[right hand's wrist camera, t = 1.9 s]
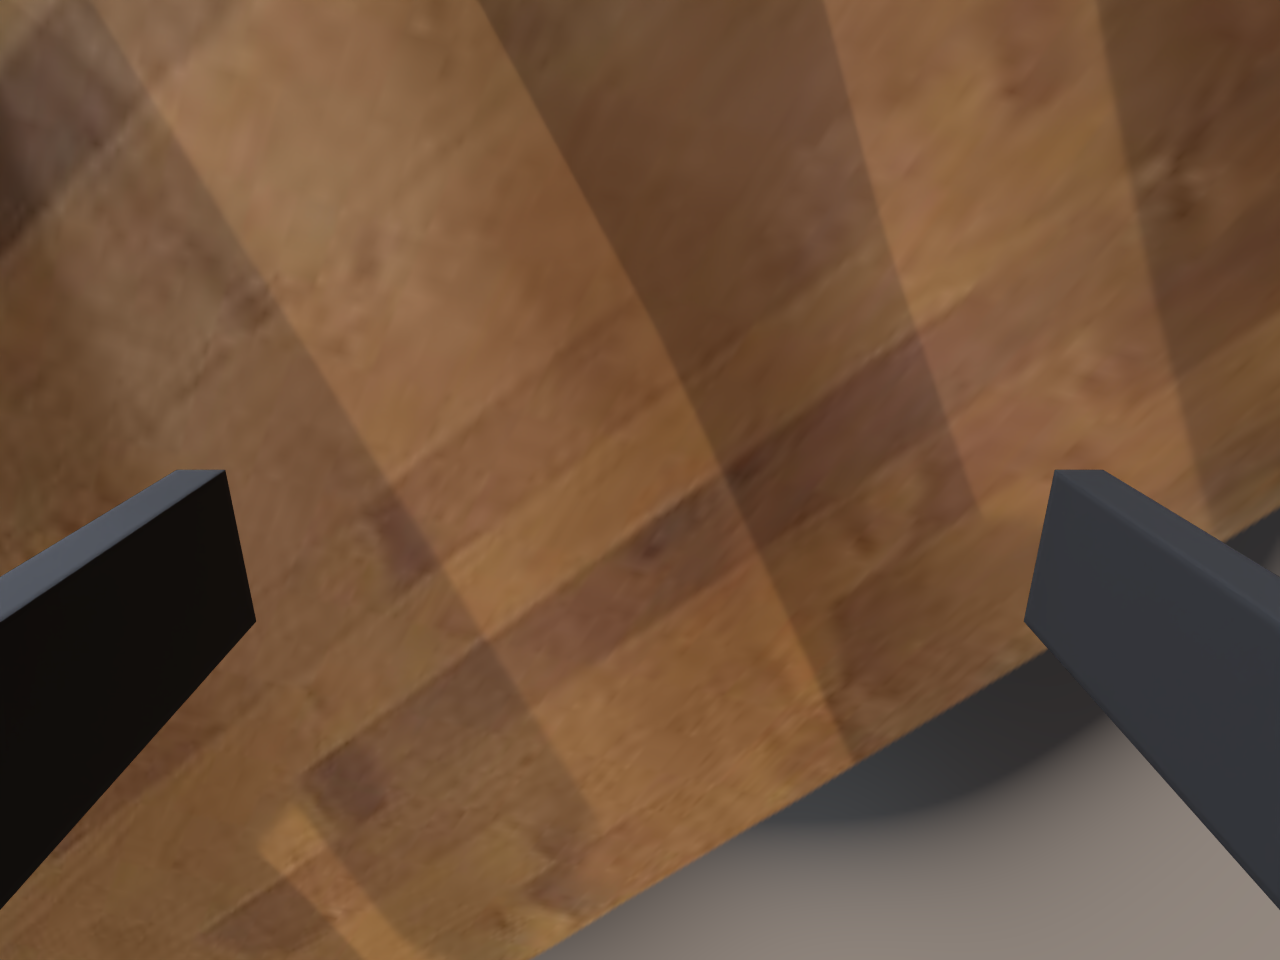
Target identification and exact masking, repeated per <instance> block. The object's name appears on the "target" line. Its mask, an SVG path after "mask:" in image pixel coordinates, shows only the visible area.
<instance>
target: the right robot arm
mask: <svg viewBox="0 0 1280 960" xmlns="http://www.w3.org/2000/svg"><path fill="white" fill-rule="evenodd" d="M255 622H256V618H255V613H254V608H253V603H252V598H251V593H250V589H249V584H248V579H247V574H246V569H245V564H244V559H243V554H242V549H241V545H240V540H239V535H238V530H237V525H236V520H235V515H234V510H233V505H232V500H231V496H230V491H229V486H228V481H227V476H226V471H225V470H176V471H174V472H172V473H171V474H169V475H168V476H166V477H164V478H163V479H161V480H159V481H158V482H156V483H154V484H153V485H151V486H149V487H148V488H146V489H144V490H143V491H141V492H140V493H138V494H136V495H135V496H133V497H131V498H130V499H128V500H126V501H125V502H123V503H121V504H120V505H118V506H116V507H115V508H113V509H111V510H110V511H108V512H107V513H105V514H103V515H102V516H100V517H98V518H97V519H95V520H93V521H92V522H90V523H88V524H87V525H85V526H83V527H82V528H80V529H79V530H77V531H75V532H74V533H72V534H70V535H69V536H67V537H65V538H64V539H62V540H60V541H59V542H57V543H55V544H54V545H52V546H50V547H49V548H47V549H46V550H44V551H42V552H41V553H39V554H37V555H36V556H34V557H32V558H31V559H29V560H27V561H26V562H24V563H22V564H21V565H19V566H18V567H16V568H14V569H13V570H11V571H9V572H8V573H6V574H4V575H3V576H1V577H0V909H1V908H2V907H3V906H4V905H5V904H6V903H7V902H8V900H9V899H10V898H11V897H12V896H13V895H14V894H15V893H16V891H17V890H18V889H19V888H20V887H21V886H22V885H23V884H24V882H25V881H26V880H27V879H28V878H29V877H30V876H31V875H32V873H33V872H34V871H35V870H36V869H37V868H38V867H39V866H40V864H41V863H42V862H43V861H44V860H45V859H46V858H47V857H48V855H49V854H50V853H51V852H52V851H53V850H54V849H55V847H56V846H57V845H58V844H59V843H60V842H61V841H62V840H63V838H64V837H65V836H66V835H67V834H68V833H69V832H70V831H71V829H72V828H73V827H74V826H75V825H76V824H77V823H78V822H79V820H80V819H81V818H82V817H83V816H84V815H85V814H86V813H87V811H88V810H89V809H90V808H91V807H92V806H93V805H94V804H95V802H96V801H97V800H98V799H99V798H100V797H101V796H102V795H103V793H104V792H105V791H106V790H107V789H108V788H109V787H110V786H111V784H112V783H113V782H114V781H115V780H116V779H117V778H118V777H119V775H120V774H121V773H122V772H123V771H124V770H125V769H126V767H127V766H128V765H129V764H130V763H131V762H132V761H133V760H134V758H135V757H136V756H137V755H138V754H139V753H140V752H141V751H142V749H143V748H144V747H145V746H146V745H147V744H148V743H149V742H150V740H151V739H152V738H153V737H154V736H155V735H156V734H157V733H158V731H159V730H160V729H161V728H162V727H163V726H164V725H165V724H166V722H167V721H168V720H169V719H170V718H171V717H172V716H173V715H174V713H175V712H176V711H177V710H178V709H179V708H180V707H181V706H182V704H183V703H184V702H185V701H186V700H187V699H188V698H189V697H190V695H191V694H192V693H193V692H194V691H195V690H196V689H197V687H198V686H199V685H200V684H201V683H202V682H203V681H204V680H205V678H206V677H207V676H208V675H209V674H210V673H211V672H212V671H213V669H214V668H215V667H216V666H217V665H218V664H219V663H220V662H221V660H222V659H223V658H224V657H225V656H226V655H227V654H228V653H229V651H230V650H231V649H232V648H233V647H234V646H235V645H236V644H237V642H238V641H239V640H240V639H241V638H242V637H243V636H244V635H245V633H246V632H247V631H248V630H249V629H250V628H251V627H252V626H253V624H254V623H255ZM1024 622H1025V623H1026V624H1027V626H1028V627H1029V628H1030V629H1031V630H1032V631H1033V632H1034V633H1035V635H1036V636H1037V637H1038V638H1039V639H1040V640H1041V641H1042V642H1043V644H1044V645H1045V646H1046V647H1047V648H1048V649H1049V650H1050V651H1051V653H1052V654H1053V655H1054V656H1055V657H1056V658H1057V659H1058V660H1059V661H1060V663H1061V664H1062V665H1063V666H1064V667H1065V668H1066V669H1067V671H1068V672H1069V673H1070V674H1071V675H1072V676H1073V677H1074V678H1075V680H1076V681H1077V682H1078V683H1079V684H1080V685H1081V686H1082V687H1083V689H1084V690H1085V691H1086V692H1087V693H1088V694H1089V695H1090V697H1091V698H1092V699H1093V700H1094V701H1095V702H1096V703H1097V704H1098V706H1099V707H1100V708H1101V709H1102V710H1103V711H1104V712H1105V713H1106V714H1107V716H1108V717H1109V718H1110V719H1111V720H1112V721H1113V722H1114V724H1115V725H1116V726H1117V727H1118V728H1119V729H1120V730H1121V731H1122V733H1123V734H1124V735H1125V736H1126V737H1127V738H1128V739H1129V740H1130V741H1131V743H1132V744H1133V745H1134V746H1135V747H1136V748H1137V749H1138V751H1139V752H1140V753H1141V754H1142V755H1143V756H1144V757H1145V758H1146V760H1147V761H1148V762H1149V763H1150V764H1151V765H1152V766H1153V767H1154V769H1155V770H1156V771H1157V772H1158V773H1159V774H1160V775H1161V776H1162V778H1163V779H1164V780H1165V781H1166V782H1167V783H1168V784H1169V785H1170V787H1171V788H1172V789H1173V790H1174V791H1175V792H1176V793H1177V795H1178V796H1179V797H1180V798H1181V799H1182V800H1183V801H1184V802H1185V804H1186V805H1187V806H1188V807H1189V808H1190V809H1191V810H1192V811H1193V813H1194V814H1195V815H1196V816H1197V817H1198V818H1199V819H1200V820H1201V822H1202V823H1203V824H1204V825H1205V826H1206V827H1207V828H1208V829H1209V831H1210V832H1211V833H1212V834H1213V835H1214V836H1215V837H1216V838H1217V840H1218V841H1219V842H1220V843H1221V844H1222V845H1223V846H1224V847H1225V849H1226V850H1227V851H1228V852H1229V853H1230V854H1231V855H1232V856H1233V858H1234V859H1235V860H1236V861H1237V862H1238V863H1239V864H1240V866H1241V867H1242V868H1243V869H1244V870H1245V871H1246V872H1247V873H1248V875H1249V876H1250V877H1251V878H1252V879H1253V880H1254V881H1255V882H1256V884H1257V885H1258V886H1259V887H1260V888H1261V889H1262V890H1263V891H1264V893H1265V894H1266V895H1267V896H1268V897H1269V898H1270V899H1271V900H1272V902H1273V903H1274V904H1275V905H1276V906H1277V907H1278V908H1279V909H1280V577H1279V576H1277V575H1276V574H1274V573H1272V572H1271V571H1269V570H1267V569H1266V568H1264V567H1262V566H1261V565H1259V564H1257V563H1256V562H1254V561H1253V560H1251V559H1249V558H1248V557H1246V556H1244V555H1243V554H1241V553H1239V552H1238V551H1236V550H1234V549H1233V548H1231V547H1230V546H1228V545H1226V544H1225V543H1223V542H1221V541H1220V540H1218V539H1216V538H1215V537H1213V536H1211V535H1210V534H1208V533H1206V532H1205V531H1203V530H1201V529H1200V528H1198V527H1197V526H1195V525H1193V524H1192V523H1190V522H1188V521H1187V520H1185V519H1183V518H1182V517H1180V516H1178V515H1177V514H1175V513H1173V512H1172V511H1170V510H1169V509H1167V508H1165V507H1164V506H1162V505H1160V504H1159V503H1157V502H1155V501H1154V500H1152V499H1150V498H1149V497H1147V496H1145V495H1144V494H1142V493H1140V492H1139V491H1137V490H1136V489H1134V488H1132V487H1131V486H1129V485H1127V484H1126V483H1124V482H1122V481H1121V480H1119V479H1117V478H1116V477H1114V476H1112V475H1111V474H1109V473H1108V472H1106V471H1104V470H1055V471H1054V476H1053V481H1052V486H1051V491H1050V496H1049V500H1048V505H1047V510H1046V515H1045V520H1044V525H1043V530H1042V535H1041V540H1040V545H1039V549H1038V554H1037V559H1036V564H1035V569H1034V574H1033V579H1032V584H1031V589H1030V593H1029V598H1028V603H1027V608H1026V613H1025V618H1024Z"/></svg>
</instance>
